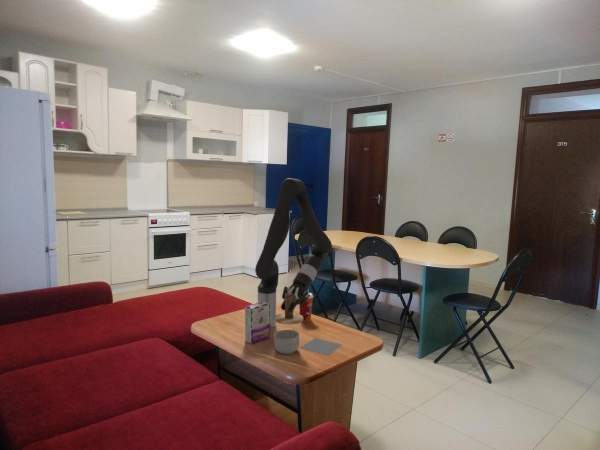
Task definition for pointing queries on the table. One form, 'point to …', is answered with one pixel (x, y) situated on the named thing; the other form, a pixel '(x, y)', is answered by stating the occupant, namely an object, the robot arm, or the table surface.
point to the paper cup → (306, 309)
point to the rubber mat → (321, 346)
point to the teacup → (286, 341)
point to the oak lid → (288, 316)
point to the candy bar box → (257, 322)
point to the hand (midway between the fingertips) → (286, 310)
